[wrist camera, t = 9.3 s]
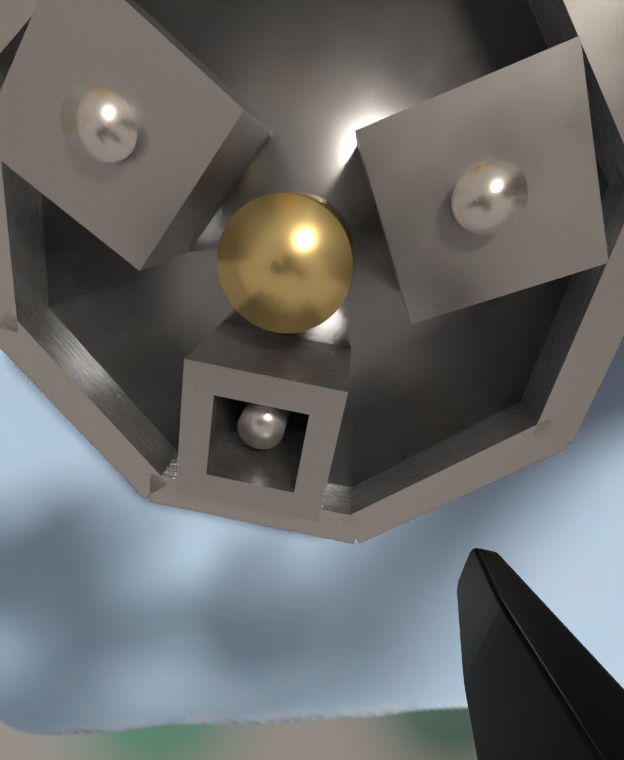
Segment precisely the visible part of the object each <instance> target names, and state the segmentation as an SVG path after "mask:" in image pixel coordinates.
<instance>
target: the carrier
mask: <svg viewBox="0 0 624 760" xmlns="http://www.w3.org/2000/svg"><path fill="white" fill-rule="evenodd" d="M222 322H224V323H229V324H234V325H239V326H244V327H249V328H254V329H259V330H264V331H269V332H274V333H279V334H284V335H289V336H294V337H299V338H304V339H309V340H313V341H318V342H323V343H328V344H333V345H338V346H343V347H348V348H351V356H350V371H349V386H348V395H347V399H346V403H345V408H344V412H343V416H342V421H341V425H340V429H339V434H338V438H337V442H336V447H335V451H334V455H333V460H332V464H331V468H330V473H329V477H328V481H327V486H326V490H325V494H324V499H323V503H322V507H321V511H320V516H319V520H318V522H316V521H311V520H306V519H301V518H296V517H292V516H287V515H282V514H277V513H273V512H268V511H263V510H258V509H254V508H249V507H244V506H239V505H235V504H230V503H225V502H220V501H216V500H211V499H206V498H201V497H197V496H192V495H187V494H182V493H178V492H176V479H177V463H178V447H179V432H180V416H181V400H182V384H183V368H184V359H185V358H186V357H187V356H188V355H189V354H190V353H191V352H192V351H193V350H194V349H195V348H196V347H197V346H198V345H199V344H200V343H201V342H202V341H203V340H204V339H205V338H206V337H207V336H208V335H209V334H210V333H211V332H212V331H213V330H214V329H215V328H216V327H217V326H219V325H220V324H221V323H222ZM623 337H624V0H0V349H1V350H2V351H3V352H4V353H5V354H6V355H7V356H8V357H9V358H10V359H11V360H12V361H13V362H14V363H15V364H16V365H17V366H18V367H19V368H20V369H21V371H22V372H23V373H24V374H25V375H26V376H27V377H28V378H29V379H30V380H31V381H32V382H33V383H34V384H35V385H36V386H37V387H38V388H39V389H40V390H41V391H42V392H43V393H44V395H45V396H46V397H47V398H48V399H49V400H50V401H51V402H52V403H53V404H54V405H55V406H56V407H57V408H58V409H59V410H60V411H61V412H62V413H63V414H64V415H65V416H66V417H67V419H68V420H69V421H70V422H71V423H72V424H73V425H74V426H75V427H76V428H77V429H78V430H79V431H80V432H81V433H82V434H83V435H84V436H85V437H86V438H87V439H88V440H89V441H90V443H91V444H92V445H93V446H94V447H95V448H96V449H97V450H98V451H99V452H100V453H101V454H102V455H103V456H104V457H105V458H106V459H107V460H108V461H109V462H110V463H111V464H112V465H113V467H114V468H115V469H116V470H117V471H118V472H119V473H120V474H121V475H122V476H123V477H124V478H125V479H126V480H127V481H128V482H129V483H130V484H131V485H132V486H133V487H134V488H135V489H136V491H137V492H138V493H139V494H140V495H141V496H142V497H143V498H146V497H148V496H149V495H150V499H149V501H150V502H154V503H159V504H164V505H169V506H174V507H178V508H183V509H188V510H193V511H198V512H202V513H207V514H212V515H217V516H222V517H226V518H231V519H236V520H241V521H246V522H250V523H255V524H260V525H265V526H270V527H274V528H279V529H284V530H289V531H294V532H298V533H303V534H308V535H313V536H318V537H322V538H327V539H332V540H337V541H342V542H346V543H351V544H354V541H355V538H356V540H357V541H358V542H359V543H361V542H364V541H366V540H368V539H370V538H372V537H375V536H377V535H379V534H381V533H383V532H386V531H388V530H390V529H392V528H394V527H396V526H399V525H401V524H403V523H405V522H407V521H410V520H412V519H414V518H416V517H418V516H420V515H423V514H425V513H427V512H429V511H431V510H434V509H436V508H438V507H440V506H442V505H445V504H447V503H449V502H451V501H453V500H455V499H458V498H460V497H462V496H464V495H466V494H469V493H471V492H473V491H475V490H477V489H479V488H482V487H484V486H486V485H488V484H490V483H493V482H495V481H497V480H499V479H501V478H504V477H506V476H508V475H510V474H512V473H514V472H517V471H519V470H521V469H523V468H525V467H528V466H530V465H532V464H534V463H536V462H538V461H541V460H543V459H545V458H547V457H549V456H552V455H554V454H556V453H558V452H560V451H563V450H565V449H567V448H566V446H565V444H564V442H567V443H573V441H574V439H575V437H576V435H577V433H578V431H579V429H580V426H581V424H582V422H583V420H584V418H585V416H586V414H587V412H588V410H589V408H590V406H591V404H592V401H593V399H594V397H595V395H596V393H597V391H598V389H599V387H600V385H601V383H602V381H603V379H604V376H605V374H606V372H607V370H608V368H609V366H610V364H611V362H612V360H613V358H614V356H615V354H616V351H617V349H618V347H619V345H620V343H621V341H622V339H623ZM237 418H238V419H239V421H238V433H239V435H240V437H241V438H242V440H243V441H244V442H245V443H246V444H248V445H249V446H251V447H254V448H257V449H269V448H272V447H274V446H276V445H277V444H278V443H279V442H280V441H281V439H282V437H283V434H284V431H285V428H287V429H292V430H296V431H301V432H306V429H307V424H308V419H309V415H308V414H303V413H299V412H294V411H289V410H284V409H279V408H274V407H269V406H264V405H259V404H255V403H250V402H245V401H240V400H239V403H238V411H237Z"/></svg>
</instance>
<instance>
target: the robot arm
mask: <svg viewBox="0 0 624 760" xmlns="http://www.w3.org/2000/svg"><path fill="white" fill-rule="evenodd" d="M457 598H458V611H459V625H460V638H461V652H462V666H463V676H464V685H465V691H466V698H467V703H468V709H469V715H470V720H471V726H472V731H473V737H474V742H475V748H476V754H477V759H478V760H624V689H623V688H622V687H621V685H620V684H619V683H618V682H617V681H616V680H615V679H614V678H613V677H612V676H611V675H610V674H609V673H608V671H607V670H606V669H605V668H604V667H603V666H602V665H601V664H600V663H599V662H598V661H597V660H596V659H595V657H594V656H593V655H592V654H591V653H590V652H589V651H588V650H587V649H586V648H585V647H584V646H583V645H582V643H581V642H580V641H579V640H578V639H577V638H576V637H575V636H574V635H573V634H572V633H571V632H570V630H569V629H568V628H567V627H566V626H565V625H564V624H563V623H562V622H561V621H560V620H559V619H558V618H557V616H556V615H555V614H554V613H553V612H552V611H551V610H550V609H549V608H548V607H547V606H546V605H545V604H544V602H543V601H542V600H541V599H540V598H539V597H538V596H537V595H536V594H535V593H534V592H533V591H532V590H531V588H530V587H529V586H528V585H527V584H526V583H525V582H524V581H523V580H522V579H521V578H520V577H519V576H518V574H517V573H516V572H515V571H514V570H513V569H512V568H511V567H510V566H509V565H508V564H507V563H506V562H505V560H504V559H503V558H502V557H501V556H500V555H499V554H498V553H496V552H493V551H489V550H484V549H479V548H475V549H473V550H472V551H471V552H470V554H469V556H468V559H467V561H466V563H465V566H464V568H463V571H462V573H461V576H460V578H459V581H458V587H457Z"/></svg>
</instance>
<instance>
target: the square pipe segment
mask: <svg viewBox="0 0 624 760" xmlns="http://www.w3.org/2000/svg"><path fill="white" fill-rule="evenodd" d="M350 356H351V348H348V347H343V346H338V345H333V344H328V343H323V342H318V341H313V340H309V339H304V338H299V337H294V336H289V335H284V334H279V333H274V332H269V331H264V330H259V329H254V328H249V327H244V326H239V325H234V324H229V323H224V322H222V323H221V324H220V325H219V326H217V327H216V328H215V329H214V330H213V331H212V332H211V333H210V334H209V335H208V336H207V337H206V338H205V339H204V340H203V341H202V342H201V343H200V344H199V345H198V346H197V347H196V348H195V349H194V350H193V351H192V352H191V353H190V354H189V355H188V356H187V357H186V358H185V359H184V368H183V384H182V400H181V416H180V432H179V447H178V463H177V479H176V492H178V493H182V494H187V495H192V496H197V497H201V498H206V499H211V500H216V501H220V502H225V503H230V504H235V505H239V506H244V507H249V508H254V509H258V510H263V511H268V512H273V513H277V514H282V515H287V516H292V517H296V518H301V519H306V520H311V521H316V522H318V520H319V516H320V511H321V507H322V503H323V499H324V494H325V490H326V486H327V481H328V477H329V473H330V468H331V464H332V460H333V455H334V451H335V447H336V442H337V438H338V434H339V429H340V425H341V421H342V416H343V412H344V408H345V403H346V399H347V395H348V386H349V371H350ZM239 400H240V401H245V402H250V403H255V404H259V405H264V406H269V407H274V408H279V409H284V410H289V411H294V412H299V413H303V414H308V415H309V419H308V424H307V429H306V432H301V431H296V430H292V429H287V428H285V431H284V434H283V437H282V439H281V441H280V442H279V443H278V444H277V445H276V446H274V447H272V448H269V449H257V448H254V447H251V446H249V445H248V444H246V443H245V442H244V441H243V440H242V438H241V437H240V435H239V433H238V421H239V419H238V418H237V411H238V403H239Z"/></svg>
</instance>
